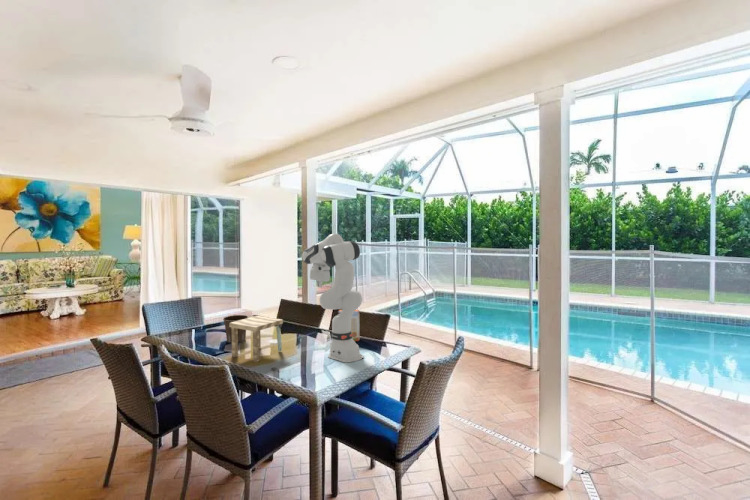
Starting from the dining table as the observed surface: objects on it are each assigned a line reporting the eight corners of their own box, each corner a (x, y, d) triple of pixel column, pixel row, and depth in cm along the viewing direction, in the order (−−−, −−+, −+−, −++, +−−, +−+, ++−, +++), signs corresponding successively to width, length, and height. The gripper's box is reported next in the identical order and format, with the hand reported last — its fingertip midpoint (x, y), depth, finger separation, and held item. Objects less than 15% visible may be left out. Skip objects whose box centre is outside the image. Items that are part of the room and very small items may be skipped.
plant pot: (240, 344, 250) (239, 320, 250) (218, 343, 254) (218, 319, 253) (252, 338, 266) (252, 315, 266) (232, 336, 269) (231, 314, 269)
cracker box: (359, 339, 263) (359, 309, 262) (358, 341, 257) (358, 311, 256) (340, 338, 264) (339, 309, 263) (338, 341, 258) (338, 310, 257)
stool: (258, 346, 245) (257, 315, 244) (283, 352, 234) (282, 319, 233) (230, 356, 226) (229, 322, 225) (256, 362, 215) (255, 327, 214)
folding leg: (280, 350, 236) (278, 323, 234) (282, 351, 235) (280, 324, 233) (277, 351, 234) (275, 324, 232) (280, 352, 233) (278, 325, 231)
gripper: (307, 266, 263) (307, 285, 264) (323, 268, 247) (323, 289, 248) (315, 265, 267) (315, 285, 268) (331, 267, 251) (331, 288, 252)
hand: (319, 287), depth 258 cm, fingers closed
